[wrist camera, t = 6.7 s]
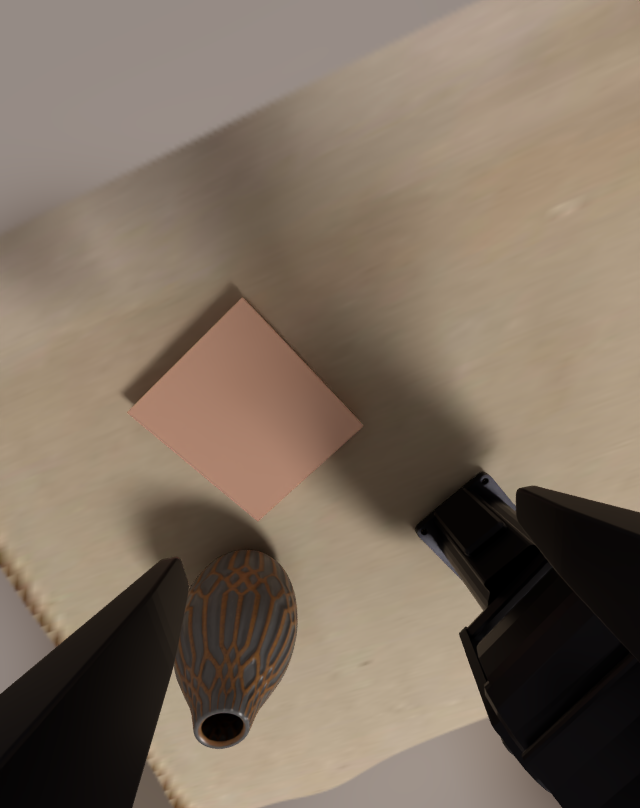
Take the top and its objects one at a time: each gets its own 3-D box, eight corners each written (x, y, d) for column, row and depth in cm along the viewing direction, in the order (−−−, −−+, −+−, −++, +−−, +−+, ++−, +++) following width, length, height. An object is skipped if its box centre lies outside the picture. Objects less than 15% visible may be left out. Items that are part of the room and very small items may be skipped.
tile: (363, 425, 19) (257, 521, 20) (358, 418, 20) (259, 507, 21) (242, 297, 16) (126, 412, 17) (245, 299, 18) (139, 405, 19)
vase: (287, 617, 23) (288, 783, 15) (191, 612, 22) (133, 788, 14) (302, 536, 22) (314, 670, 13) (200, 527, 21) (141, 666, 12)
